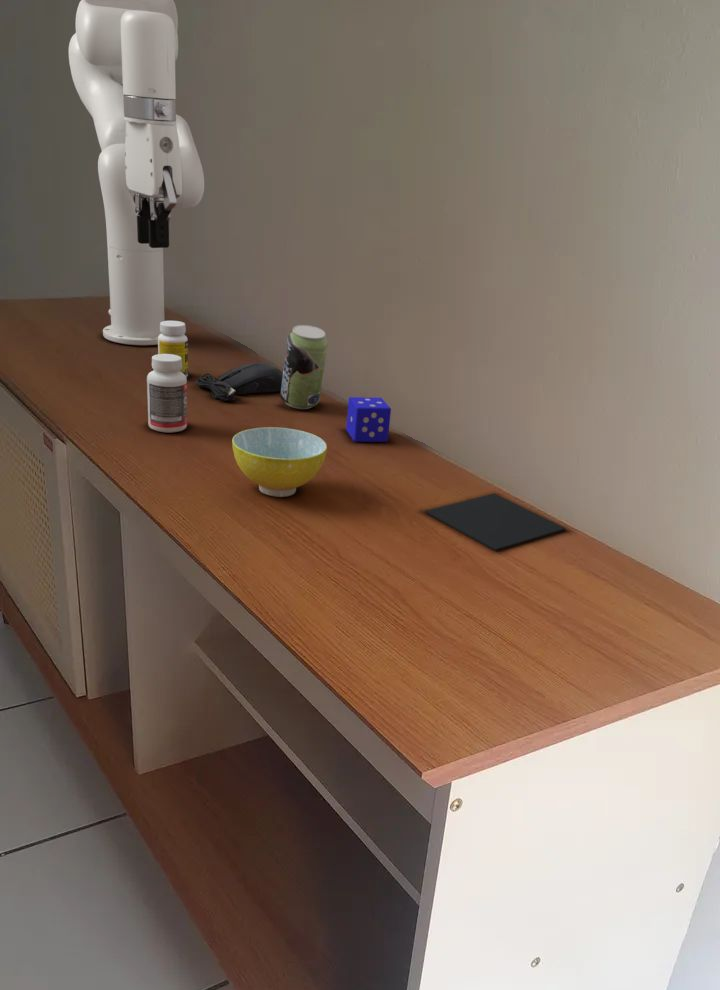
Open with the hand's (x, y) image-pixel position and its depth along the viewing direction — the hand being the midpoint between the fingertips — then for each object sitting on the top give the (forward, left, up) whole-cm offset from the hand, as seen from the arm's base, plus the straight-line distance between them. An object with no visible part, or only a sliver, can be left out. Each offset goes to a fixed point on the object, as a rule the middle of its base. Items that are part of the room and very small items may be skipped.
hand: (153, 244), depth 147 cm
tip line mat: (+74, +6, -19) cm, 76 cm away
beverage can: (+28, +10, -19) cm, 35 cm away
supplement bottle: (+6, 0, -19) cm, 20 cm away
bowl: (+54, -12, -19) cm, 58 cm away
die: (+43, +11, -19) cm, 48 cm away
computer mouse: (+17, +7, -19) cm, 27 cm away
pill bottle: (+28, -13, -19) cm, 36 cm away
